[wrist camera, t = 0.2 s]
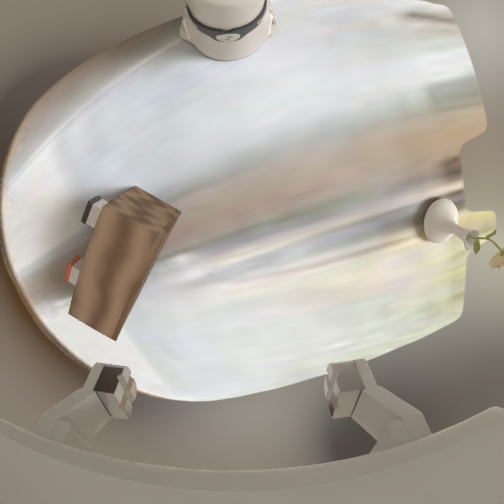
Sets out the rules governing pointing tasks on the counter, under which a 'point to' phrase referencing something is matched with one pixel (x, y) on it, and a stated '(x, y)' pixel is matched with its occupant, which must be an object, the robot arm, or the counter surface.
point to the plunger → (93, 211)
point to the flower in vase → (454, 229)
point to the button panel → (120, 259)
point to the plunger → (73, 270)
